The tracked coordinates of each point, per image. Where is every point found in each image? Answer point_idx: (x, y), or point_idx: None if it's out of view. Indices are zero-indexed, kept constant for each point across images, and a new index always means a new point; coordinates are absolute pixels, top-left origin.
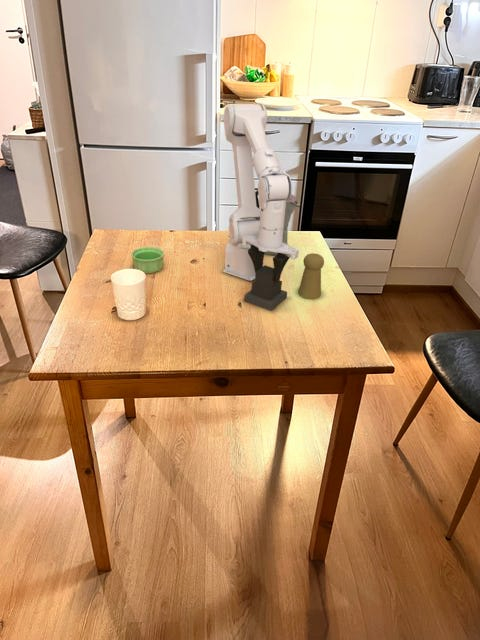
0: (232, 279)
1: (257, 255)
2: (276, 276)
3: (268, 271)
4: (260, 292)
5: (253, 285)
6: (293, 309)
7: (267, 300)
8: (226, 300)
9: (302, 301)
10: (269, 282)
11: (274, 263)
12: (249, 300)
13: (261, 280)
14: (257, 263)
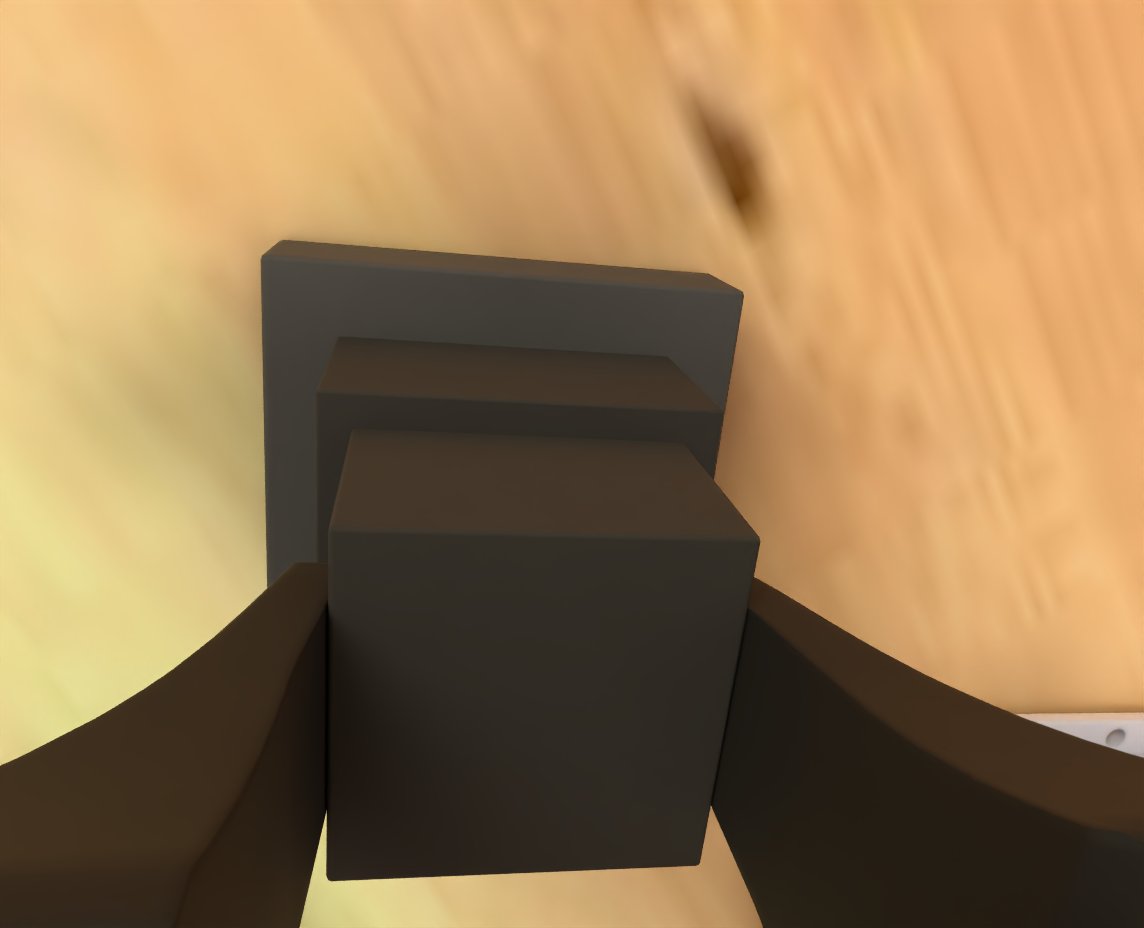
0: (1016, 646)
1: (964, 889)
2: (244, 611)
3: (515, 700)
4: (525, 366)
5: (682, 401)
6: (54, 447)
7: (382, 326)
8: (927, 172)
9: (75, 676)
10: (380, 467)
11: (195, 791)
12: (646, 276)
13: (567, 470)
14: (825, 721)
